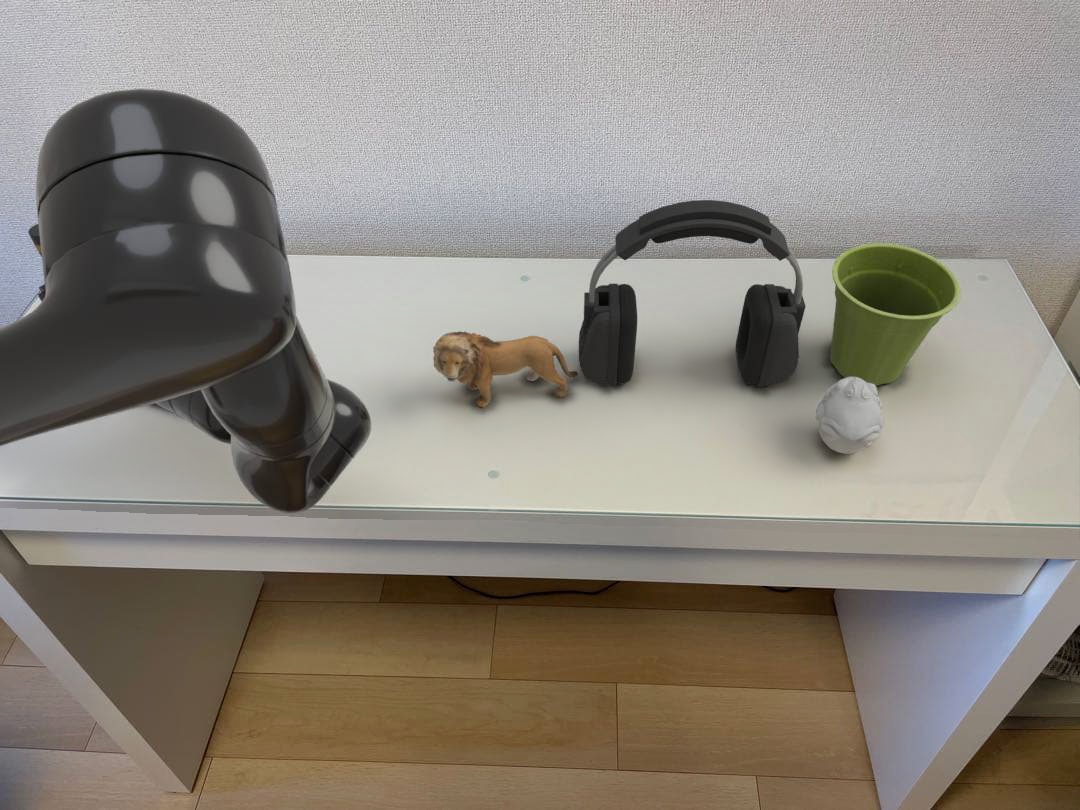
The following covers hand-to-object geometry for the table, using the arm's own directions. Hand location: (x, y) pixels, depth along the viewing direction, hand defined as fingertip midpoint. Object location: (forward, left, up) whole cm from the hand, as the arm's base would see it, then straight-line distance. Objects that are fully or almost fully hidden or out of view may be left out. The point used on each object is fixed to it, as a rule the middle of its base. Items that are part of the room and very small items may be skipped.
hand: (58, 286), depth 80 cm
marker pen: (+1, -3, -8) cm, 9 cm away
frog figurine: (+60, -44, -14) cm, 75 cm away
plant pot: (+70, -37, -14) cm, 80 cm away
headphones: (+53, -28, -14) cm, 61 cm away
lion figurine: (+35, -22, -14) cm, 43 cm away
